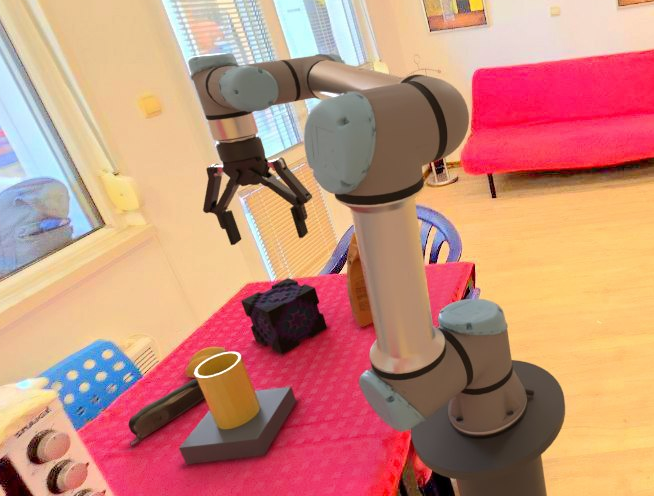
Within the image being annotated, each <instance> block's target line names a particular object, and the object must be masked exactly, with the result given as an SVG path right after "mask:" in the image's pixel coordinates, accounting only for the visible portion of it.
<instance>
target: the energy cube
mask: <svg viewBox="0 0 654 496" xmlns="http://www.w3.org/2000/svg"><path fill="white" fill-rule="evenodd" d="M240 302H241V305H242V307H243V310H244V313H245V316H246V317H248V318H250V320H251V321H250V322H251V323H252V325H251V326H250V329H251V332H252V335H253V337H254V341H255V342H256V343H258V344H260V345H262V346H264V347H267V346H271V349H272V351H274V352H276V353H278V354H280V355H284V354H286V353H288V352H290V351H291V350H293V349H295V348H297V347H298V346H300V342H301V341H303V340H305V339H306V338H308V337H310V338H313V337H315V336H316V335H318V334H320V333H322V332H323V331H325V330H327V329H328V327H327V323H326V320H325V316H324V314H323V313H322V312H320V310H319V306H318V305H319V304H320V300H319V297H318V293H317V290H316V288H315V287H314V286H311V285H308V284H302V285H300V284H299V282H298V281H297V280H295V279H292V278H289V277H287V278H285V279H284V280H283V279H282V280H281V281H279V282H276V283H275V284H273V285H271V288H270V289H268V290H266V291H264V292H260V291H258V292H256V293H254V294H252V295H250V296H247V297H245V298H243V299H241V300H240Z"/></svg>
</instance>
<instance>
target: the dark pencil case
mask: <svg viewBox="0 0 654 496" xmlns="http://www.w3.org/2000/svg"><path fill="white" fill-rule="evenodd" d="M203 400H205V398H204V396H203V394H202V391H201V389H200V387H199V384H198V382H197V380H196V378H192V379H191V380H189V381H188V382H186V383H185V384H183V385H181V386H180V387H177V388H175V389H174V390H172V391H171V392H169V393H168V394H166V395H164V396H162V397H161V398H159V399H156V400H155V401H153V402H151V403H149V404H147V405H145V406H144V407H143V408H140V410H139V411H138V412H137V413H136V414H134V415H133V416H132V417H130V419H129V421H128V428H129V431H130V432H131V433H132V434H133V435H135V439H134V440H132V441H131V442H129V446H131V447H132V446H134V445H135V444H137V443H138V442H140V441H142V440H143V439H144V438H146V437H147V436H149V435H150V434H152V433H153V432H155V431H157V430H158V429H160V428H161V427H163V426H165V425H166V424H167V423H169V422H171V421H172V420H174V419H175V418H177V417H179V416H181V415H182V414H184V413H186V412H187V411H189V410H190V409H191V408H194V407H195V406H196V405H198V404H200V403H201V402H203Z"/></svg>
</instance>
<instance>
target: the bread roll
mask: <svg viewBox="0 0 654 496" xmlns="http://www.w3.org/2000/svg"><path fill="white" fill-rule="evenodd" d="M225 352H228V351H227V349H225V348H223V347H220V346H215V345H214V346H207V347H204V348H202V349H200V350H198V351H196V352H195V353H194V354H193V355H192V357H190V358H189V360H188V365H187V366H186V368H185V372H184V373H185V376H186V377H188V378H192V379H195V375H194V372H195V369H196V368H197V367H198V366H199V365H200V364H201V363H202V362H204V361H205V360H207V359H209V358H211V357H213V356H215V355H218V354H221V353H225Z"/></svg>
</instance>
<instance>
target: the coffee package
mask: <svg viewBox="0 0 654 496" xmlns="http://www.w3.org/2000/svg"><path fill="white" fill-rule="evenodd" d="M346 288H347V296H348V301H349V306H350V309H351V313H352V316H353V318H354V320H355V321H356V323H357V324H358V325H359V327H360V328H365V327H366V326H367V327H368V326H369V325H371V324H374V323H373V319H372V314H371V309H370V304H369V299H368V294H367V289H366V284H365V279H364V275H363V270H362V265H361V260H360V255H359V250H358V245H357V240H356V235H355V232H353V233H351V235H350V241H349V247H348V251H347V255H346Z"/></svg>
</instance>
